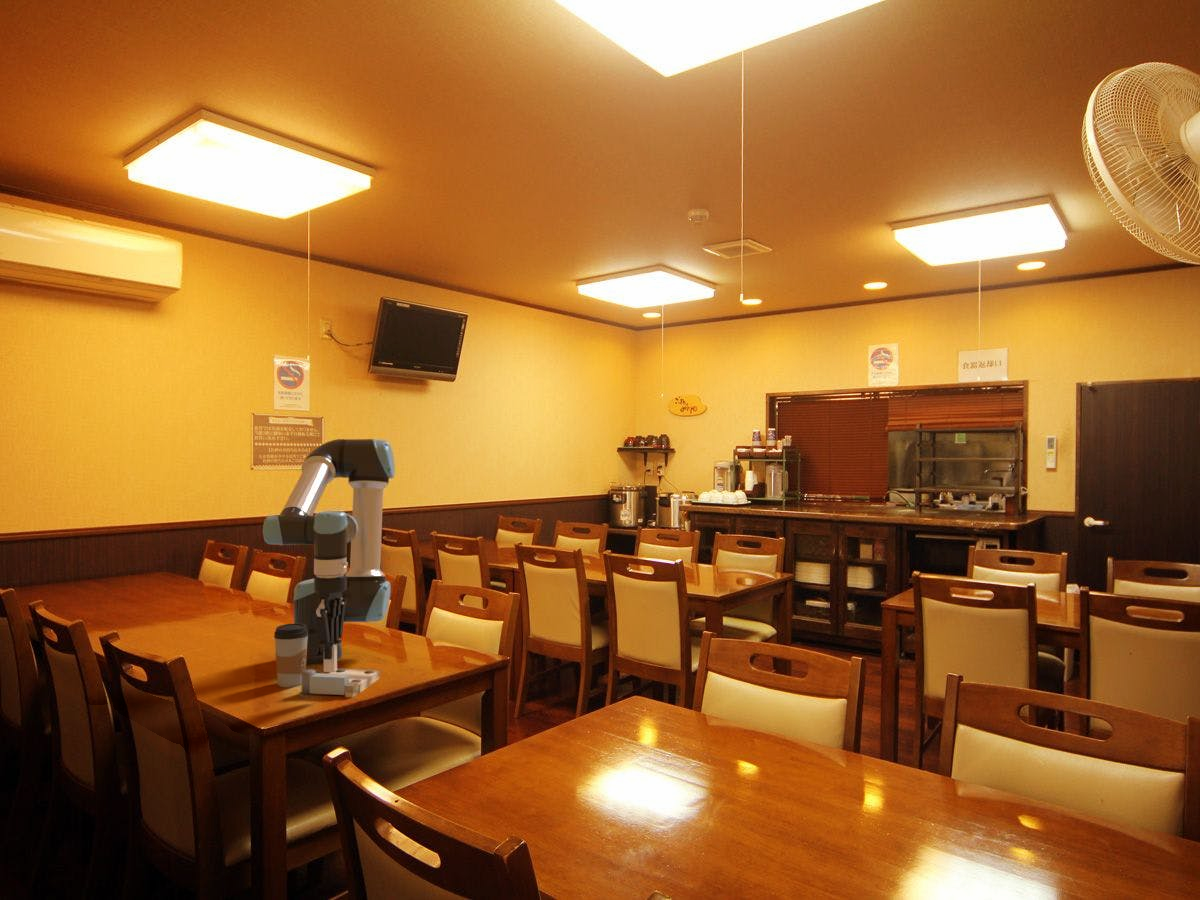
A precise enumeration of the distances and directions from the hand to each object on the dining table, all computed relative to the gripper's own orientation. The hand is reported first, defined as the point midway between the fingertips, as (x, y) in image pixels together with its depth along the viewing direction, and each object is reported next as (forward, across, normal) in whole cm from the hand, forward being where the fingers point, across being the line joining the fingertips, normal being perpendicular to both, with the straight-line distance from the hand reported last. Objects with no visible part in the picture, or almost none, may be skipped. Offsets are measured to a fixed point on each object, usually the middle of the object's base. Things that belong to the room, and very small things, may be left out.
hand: (330, 670), depth 184 cm
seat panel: (+7, +10, 0) cm, 12 cm away
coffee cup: (+8, +9, +15) cm, 19 cm away
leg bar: (+7, +2, +7) cm, 10 cm away
